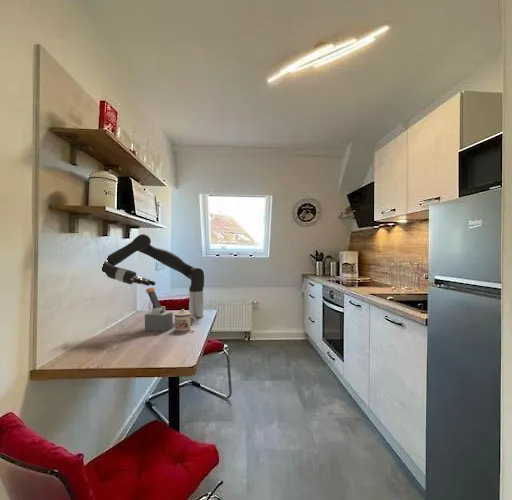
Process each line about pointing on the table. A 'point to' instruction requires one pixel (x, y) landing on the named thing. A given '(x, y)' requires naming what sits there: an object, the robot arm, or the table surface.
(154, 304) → the lever
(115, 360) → the table surface
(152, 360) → the table surface
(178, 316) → the teacup with lid
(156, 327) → the breaker box
